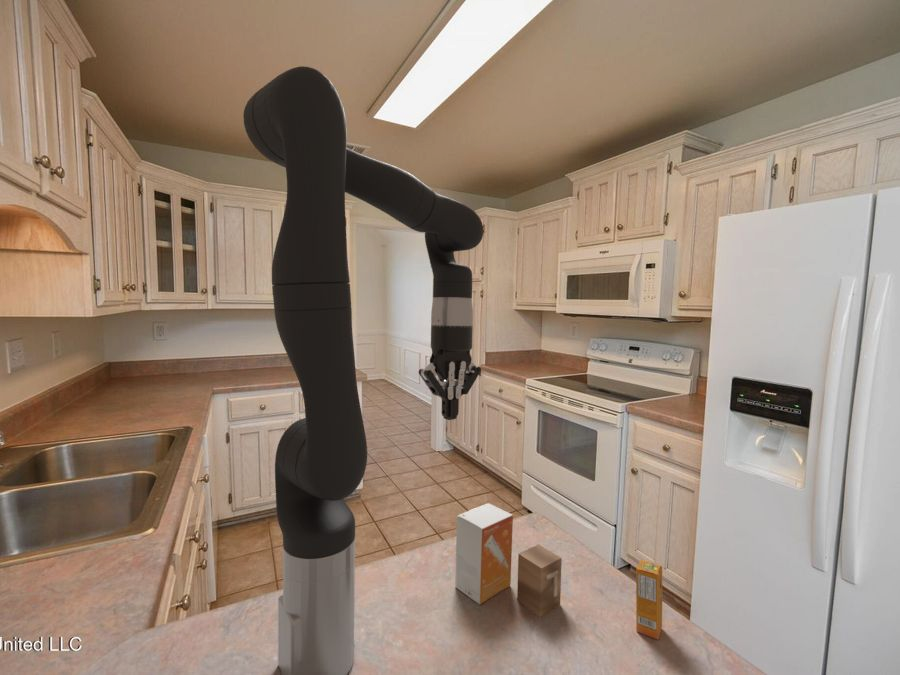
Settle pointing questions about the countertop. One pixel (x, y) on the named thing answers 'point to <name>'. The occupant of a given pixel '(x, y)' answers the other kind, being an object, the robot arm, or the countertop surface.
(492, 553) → the small box
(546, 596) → the walnut digit block
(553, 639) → the countertop surface
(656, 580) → the supplement box
